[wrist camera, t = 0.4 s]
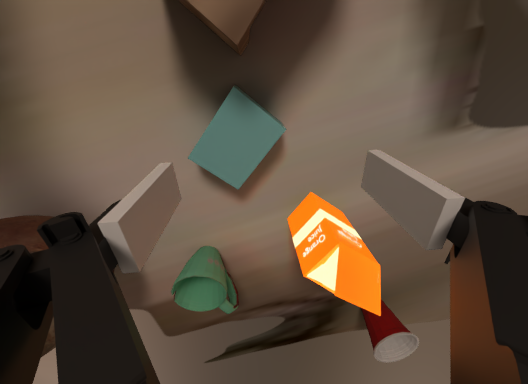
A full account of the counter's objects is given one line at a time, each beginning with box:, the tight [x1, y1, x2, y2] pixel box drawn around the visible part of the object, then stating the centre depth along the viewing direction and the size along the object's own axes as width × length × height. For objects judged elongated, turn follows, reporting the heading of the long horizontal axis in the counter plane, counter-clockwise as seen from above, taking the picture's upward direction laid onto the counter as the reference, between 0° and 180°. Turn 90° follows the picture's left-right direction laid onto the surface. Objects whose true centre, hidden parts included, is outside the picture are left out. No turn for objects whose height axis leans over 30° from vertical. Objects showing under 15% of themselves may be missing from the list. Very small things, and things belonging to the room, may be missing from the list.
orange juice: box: [287, 192, 381, 316], centre depth 36 cm, size 8×9×20 cm
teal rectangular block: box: [188, 85, 286, 189], centre depth 33 cm, size 12×9×5 cm
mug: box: [171, 246, 239, 314], centre depth 44 cm, size 15×10×10 cm
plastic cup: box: [361, 300, 419, 362], centre depth 55 cm, size 11×11×12 cm
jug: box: [0, 216, 114, 357], centre depth 30 cm, size 22×22×30 cm
